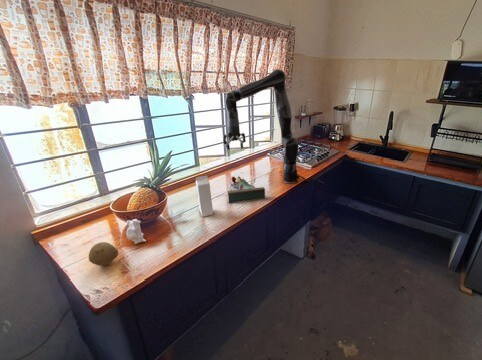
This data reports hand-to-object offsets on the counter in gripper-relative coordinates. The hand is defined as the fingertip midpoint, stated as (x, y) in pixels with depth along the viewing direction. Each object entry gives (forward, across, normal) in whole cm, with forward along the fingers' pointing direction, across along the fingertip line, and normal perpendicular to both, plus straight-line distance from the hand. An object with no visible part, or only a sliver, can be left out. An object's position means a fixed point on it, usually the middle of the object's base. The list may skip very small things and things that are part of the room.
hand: (235, 149), depth 164 cm
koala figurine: (+25, -57, -48) cm, 78 cm away
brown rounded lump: (+25, -67, -60) cm, 93 cm away
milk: (+25, -25, -34) cm, 49 cm away
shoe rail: (+25, 0, -27) cm, 37 cm away
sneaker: (+25, +1, -15) cm, 30 cm away
